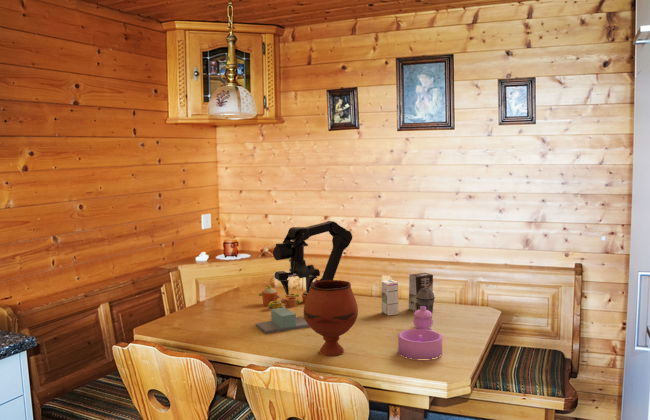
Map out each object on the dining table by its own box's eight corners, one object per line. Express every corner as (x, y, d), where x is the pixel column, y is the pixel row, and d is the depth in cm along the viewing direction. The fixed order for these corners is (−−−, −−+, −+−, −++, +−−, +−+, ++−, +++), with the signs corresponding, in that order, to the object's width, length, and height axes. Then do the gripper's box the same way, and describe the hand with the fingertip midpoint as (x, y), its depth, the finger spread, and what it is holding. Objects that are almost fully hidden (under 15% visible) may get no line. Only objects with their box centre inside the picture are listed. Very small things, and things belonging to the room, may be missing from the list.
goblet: (294, 350, 208) (293, 282, 205) (337, 340, 219) (336, 275, 216) (324, 365, 192) (323, 292, 190) (369, 353, 203) (368, 284, 201)
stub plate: (299, 319, 247) (299, 309, 247) (311, 326, 236) (311, 316, 236) (255, 326, 238) (255, 316, 238) (265, 333, 227) (265, 323, 227)
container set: (441, 362, 195) (441, 324, 193) (396, 359, 198) (396, 321, 197) (443, 339, 219) (444, 305, 218) (403, 336, 223) (403, 303, 221)
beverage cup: (436, 323, 238) (436, 276, 236) (432, 328, 232) (432, 280, 230) (419, 321, 241) (419, 275, 239) (414, 326, 235) (414, 278, 233)
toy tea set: (271, 313, 258) (271, 292, 258) (255, 306, 271) (254, 286, 270) (319, 303, 274) (319, 284, 273) (301, 297, 286) (301, 278, 285)
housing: (284, 318, 244) (284, 307, 243) (295, 326, 233) (295, 314, 233) (271, 320, 241) (271, 309, 241) (282, 328, 230) (282, 316, 230)
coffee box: (416, 312, 256) (417, 276, 254) (408, 309, 262) (408, 274, 260) (433, 309, 260) (433, 274, 259) (424, 306, 266) (424, 272, 264)
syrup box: (399, 314, 253) (399, 281, 252) (387, 315, 251) (387, 283, 250) (392, 311, 258) (392, 279, 257) (381, 312, 256) (381, 280, 255)
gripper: (283, 262, 229) (284, 300, 231) (325, 258, 238) (326, 295, 239) (273, 258, 239) (274, 295, 241) (313, 254, 248) (314, 290, 249)
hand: (297, 294), depth 242 cm, fingers open, 9 cm apart
